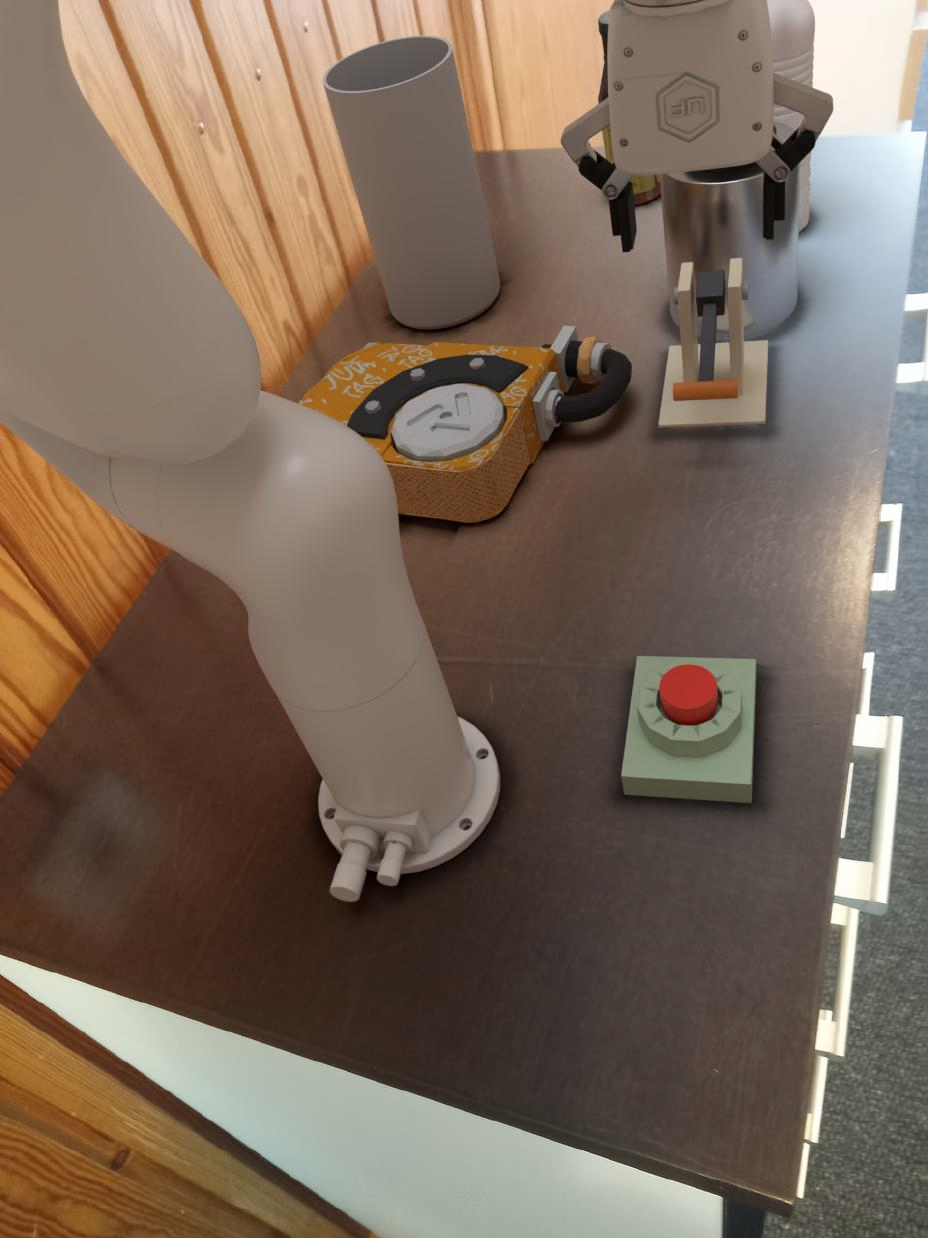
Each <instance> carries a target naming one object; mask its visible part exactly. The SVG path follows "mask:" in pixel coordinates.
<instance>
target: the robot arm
mask: <svg viewBox="0 0 928 1238" xmlns="http://www.w3.org/2000/svg"><path fill="white" fill-rule="evenodd" d="M609 10H610V15H609V26H608V47H607V61H608V95H609V97H608V98H606V99H605V100H604V101H602V102H601V103H597V105H595V106H594V107H592V108H591V109H590V110H588V111H587V112H585V113H584V114H582V115H581V116H580V117H578V118H577V119H575V120H573V121H572V122H570V123H569V124H568V125H566V126H565V127H564V128H563V130H562V134H561V137H560V145H561V146H562V148H563V149H564V150H565V152H566V153H567V155H568V157H570V159H571V161H572V162H573V164H575V165H576V166H577V168H578V172H579V174H580V175H581V176H582V177H583V178H585V179H586V180H587V181H589V182H590V183H591V184H593V185H594V186H595V187H596V188H598V189H599V190H600V191H601V194H602V197H603V198H604V199H606V200H608V206H609V217H610V224H611V232H612V236H613V237H619V236H620V242H621V243H620V244H621V249H622V250H621V251H622V254H623V253H624V254H625V253H631V251H633V250H634V248H635V247H634V246H635V242H636V237H637V231H638V229H637V217H636V207H635V206H636V205H634V195H633V184H632V182H630V178H631V177H632V176H649V175H660V174H669V173H679V172H688V171H698V170H707V169H715V168H724V167H732V166H739V165H745V164H749V163H752V162H756V163H757V164H758V165H759V166H760V167H761V168H762V169H763V170H764V178H763V238H766V240H772V239H774V221H783V220H785V181H786V180H787V179H788V178H789V176H790V172H791V171H792V170H793V169H794V168H795V167H796V166H797V165H798V164H799V163H800V162H801V161H802V160H803V159H804V158H805V157H806V156H807V155H808V154H809V153H810V152H811V153H812V151H813V150H814V148H815V146H816V142H817V141H818V139H819V137H820V135H821V134H822V132H823V130H824V129H825V128H826V125H827V124H828V122H829V120H830V118H831V116H832V114H833V112H834V98H833V96H832V95H831V94H829V93H828V92H825V91H822V90H820V89H817V88H815V87H813V88H812V87H809V86H807V85H804V84H802V83H799V82H797V81H794V80H791V79H789V78H786V77H784V76H781V75H778V74H776V73H773V54H772V39H771V27H770V18H769V11H768V4H767V0H613V3H612V4H611V6H610V8H609ZM774 103H775V104H777V105H780V106H783V107H785V108H788V109H790V110H793V111H796V112H798V113H801V114H803V115H804V116H805V117H804V119H803V122H802V123H801V125H800V126H799V127H798V128H797V129H796V131H795V132H794V133H793V134H792V135H791V136H790V137H789V138H788V139H787V140H786V141H785V142H784V143H783V142H782V141H781V140H780V139H779V138H778V136H777V135H776V134H775V133H774V132H773V127H774ZM609 125H610V130H611V143H612V153H613V159H614V160H613V162H612V163H610V162H609V161H608V160H607V159H606V157H605V156H603V155H602V154H601V153H599V152H598V151H597V150H595V149H594V148H592V144H591V143H590V142H589V140H590V139H592V138H593V137H594V136H596V135H597V134H599V133H600V132H602V130H603V129H605V128H606V127H608V126H609ZM620 140H621V141H620ZM260 360H261V358H260V354H259V350H258V346H257V342H256V339H255V336H254V334H253V331H252V329H251V327H250V325H249V322H248V321H247V319H246V316H245V315H244V313H243V311H242V309H241V308H240V307H239V305H238V304H237V302H236V301H235V299H234V297H233V296H232V295H231V293H230V292H229V290H228V289H227V287H226V286H225V285H224V283H223V282H222V280H221V279H220V278H219V277H218V275H217V274H216V273H215V272H214V271H213V269H212V268H211V267H210V265H209V264H208V263H207V261H206V260H205V259H204V258H203V257H202V256H201V255H200V253H199V252H198V251H197V249H196V248H195V247H194V245H193V244H192V243H191V242H190V241H189V239H188V238H187V237H186V235H185V234H184V233H183V231H182V230H181V228H180V227H179V226H178V225H177V224H176V222H175V221H174V219H173V218H172V217H171V216H170V215H169V213H168V212H167V211H166V209H165V208H164V207H163V206H162V204H161V203H160V202H159V200H158V199H157V198H156V197H155V195H154V194H153V192H152V191H151V190H150V189H149V187H148V186H147V185H146V184H145V183H144V181H143V179H141V177H140V176H139V174H138V173H137V172H136V171H135V170H134V168H133V167H132V165H131V164H130V163H129V161H128V160H127V159H126V158H125V156H124V155H123V154H122V152H121V151H120V149H119V147H118V146H117V145H116V144H115V142H114V140H113V139H112V137H111V136H110V134H109V133H108V131H107V130H106V128H105V126H104V125H103V123H102V122H101V121H100V119H99V118H98V117H97V115H96V114H95V111H94V110H93V108H92V107H91V105H90V103H89V102H88V100H87V99H86V97H85V94H84V93H83V92H82V90H81V87H80V85H79V83H78V80H77V78H76V77H75V74H74V71H73V69H72V66H71V63H70V59H69V56H68V52H67V49H66V46H65V41H64V37H63V30H62V23H61V14H60V7H59V0H0V423H1V425H3V426H5V427H6V428H7V429H8V430H9V431H11V432H12V433H13V434H14V435H15V436H16V437H17V438H19V439H20V440H21V441H22V442H24V444H26V445H27V446H28V447H29V448H30V449H32V450H33V451H34V452H35V453H36V454H38V456H40V457H41V458H42V459H43V460H44V461H45V462H47V464H49V465H50V466H52V468H54V469H55V470H56V471H58V472H59V473H60V474H61V475H62V476H63V477H65V479H67V480H68V481H69V482H71V483H72V484H73V485H74V486H75V487H77V488H78V489H79V490H80V491H81V492H82V493H84V494H85V495H86V496H87V497H88V498H90V499H91V500H92V501H93V502H94V503H96V504H97V505H98V506H100V507H101V508H102V509H104V510H105V511H106V512H108V513H109V514H110V515H111V516H113V517H114V518H116V519H117V520H118V521H120V522H122V523H123V524H124V525H126V526H127V527H129V528H131V529H133V530H134V531H136V532H138V533H139V534H141V535H143V536H145V537H147V538H149V539H151V540H153V541H155V542H156V543H159V544H161V545H162V546H164V547H166V548H168V549H169V550H171V551H173V552H176V553H177V554H179V555H180V556H181V557H183V558H184V559H186V560H187V561H188V562H190V563H191V564H194V565H195V566H197V567H199V568H201V569H203V570H205V571H206V572H208V573H210V574H212V575H213V576H215V577H216V578H218V579H219V580H221V581H222V582H223V583H224V584H225V585H227V586H228V587H229V588H230V589H231V590H232V591H233V592H234V593H235V595H236V596H237V597H238V598H239V600H240V601H241V602H242V603H243V606H244V607H245V609H246V612H247V615H248V620H247V621H248V622H247V634H248V640H249V643H250V646H251V650H252V652H253V654H254V657H255V659H256V662H257V664H258V665H259V667H260V669H261V671H262V673H263V675H264V676H265V678H266V680H267V682H268V684H269V686H270V687H271V689H272V691H273V692H274V694H275V695H276V697H277V699H278V701H279V702H280V705H281V707H282V708H283V710H284V711H285V713H286V715H287V717H288V720H289V721H290V722H291V724H292V726H293V728H294V729H295V731H296V733H297V735H298V738H299V739H300V741H301V742H302V744H303V746H304V748H305V749H306V751H307V753H308V754H309V757H310V758H311V761H312V762H313V765H314V766H315V767H316V770H317V771H318V773H319V775H320V777H321V778H322V780H321V783H320V785H319V792H318V799H317V802H318V803H317V804H318V805H317V806H318V816H319V819H320V822H321V826H322V828H323V830H324V832H325V834H326V836H327V838H328V839H329V841H330V843H331V844H332V845H333V847H334V849H336V851H337V852H338V853H339V854H340V855H341V857H340V860H339V862H338V863H337V864H336V865H337V866H336V869H335V872H334V875H333V878H332V880H331V884H330V888H329V890H328V892H329V893H330V895H331V896H332V897H334V898H335V899H338V900H340V901H343V902H349V903H352V902H357V901H359V900H360V897H361V894H362V890H363V887H364V885H365V880H366V877H367V871H371V872H376V873H377V874H376V881H377V882H379V883H380V884H382V885H384V886H388V887H395V886H397V885H398V884H399V882H400V879H401V875H405V874H412V873H413V874H414V873H419V872H423V871H425V870H429V869H432V868H437V867H438V866H439V865H441V864H444V863H446V862H448V861H450V860H452V859H454V858H455V857H457V856H458V855H459V854H461V853H462V852H463V851H465V850H466V849H468V848H469V847H470V845H472V843H474V841H476V839H477V838H478V837H480V836H481V834H482V833H483V831H485V829H486V827H487V825H488V824H489V822H490V821H491V819H492V817H493V815H494V812H495V810H496V808H497V805H498V801H499V797H500V793H501V772H500V771H501V770H500V767H499V764H498V763H499V762H498V759H497V757H496V754H495V751H494V748H493V746H492V745H491V744H490V742H489V740H488V739H487V737H486V736H485V734H483V733H482V732H481V731H480V730H479V728H477V727H476V726H475V725H474V724H472V723H471V722H469V721H467V720H466V719H464V718H462V717H460V716H458V715H457V711H456V709H455V706H454V703H453V701H452V700H453V699H452V697H451V695H450V691H449V689H448V687H447V683H446V680H445V678H444V675H443V672H442V670H441V667H440V664H439V661H438V658H437V655H436V653H435V650H434V647H433V644H432V641H431V639H430V636H429V634H428V631H427V627H426V625H425V622H424V619H423V617H422V615H421V612H420V609H419V607H418V604H417V600H416V598H415V594H414V592H413V589H412V586H411V583H410V579H409V576H408V573H407V568H406V566H405V561H404V556H403V551H402V543H401V535H400V520H399V514H398V506H397V498H396V492H395V487H394V482H393V480H392V477H391V474H390V472H389V469H388V467H387V465H386V463H385V462H384V460H383V459H382V457H381V456H380V455H379V453H378V452H377V451H376V450H375V449H374V448H373V446H372V445H371V444H369V443H368V442H367V441H366V440H365V439H364V438H363V437H361V436H360V435H359V434H358V433H356V432H355V431H353V430H352V429H350V428H349V427H347V426H346V425H344V424H343V423H341V422H339V421H337V420H335V419H333V418H331V417H329V416H327V415H325V414H323V413H321V412H318V411H316V410H313V409H311V408H309V407H306V406H303V405H301V404H298V403H299V402H296V401H293V400H291V399H287V398H285V397H282V396H279V395H277V394H273V393H271V392H268V391H264V390H262V389H261V388H262V365H261V361H260Z"/></svg>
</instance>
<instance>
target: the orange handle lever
mask: <svg viewBox="0 0 928 1238" xmlns="http://www.w3.org/2000/svg"><path fill="white" fill-rule="evenodd" d="M725 294H726V286H725V271H724V270H716V271H704V272H698V273H697V289H696V303H697V314H698V317H702V331H701V336H700V344H701V348H700V364H699V381H698V382H681V383H673V400H674V401H689V400H712V399H734V398H738V380H721V381H714V363H715V344H716V343H717V342H716V341H717V339H716V325H717V316H720V315H724V314H725Z"/></svg>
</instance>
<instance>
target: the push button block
mask: <svg viewBox="0 0 928 1238" xmlns="http://www.w3.org/2000/svg"><path fill="white" fill-rule="evenodd" d="M686 664H692V665H698V666H701V667H703V668H705V669H707V670H708V671H710V672H711V673H712V674H713V676H714V677H715V679H716V682H717V692H718V706H717V709H716V711H715V713H714V714H713V715H712V716H711V717H710V718H709V719H708V720H706V721H704V722H702V723H699V724H695V725H683V724H679V723H676V722H674V721H672V720H671V719H669V718H668V717H667V716H666V715H665V713H664V712H663V710H662V707H661V700H660V691H659V684H660V681H661V679H662V677H663V676H664V674H665V673H666V672H668V671H669V670H670V669H672V668H674V667H676V666H680V665H686ZM756 694H757V659H756V658H735V657H734V658H728V657H695V656H693V657H692V656H660V655H659V656H657V655H637V656H636V661H635V668H634V675H633V684H632V690H631V698H630V707H629V714H628V721H627V728H626V736H625V744H624V751H623V759H622V765H621V773H620V777H621V783H622V789H623V794H624V795H625V796H637V797H638V796H639V797H640V796H641V797H653V798H654V797H655V798H667V799H668V798H670V799H683V800H684V799H685V800H699V801H711V802H712V801H714V802H726V803H727V802H729V803H744V804H752V802H753V776H754V751H755V749H754V748H755V727H756V726H755V725H756V724H755V722H756V700H757V699H756Z"/></svg>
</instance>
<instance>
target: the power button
mask: <svg viewBox="0 0 928 1238" xmlns="http://www.w3.org/2000/svg"><path fill="white" fill-rule="evenodd" d="M659 691H660V700H661V707H662V710H663V712H664V713H665V715H666V716H667V717H668V718H669V719H671V720H672V721H674V722H676V723H679V724H683V725H695V724H699V723H702V722H704V721H706V720H708V719H709V718H710V717H711V716H712V715H713V714H714V713H715V711H716V709H717V706H718V692H717V682H716V679H715V677H714V676H713V674H712V673H711V672H710V671H708V670H707V669H705V668H703V667H701V666H698V665H692V664H686V665H680V666H676V667H674V668H672V669H670V670H669V671H668V672H666V673H665V674H664V676H663V677H662V679H661V681H660V684H659Z"/></svg>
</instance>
